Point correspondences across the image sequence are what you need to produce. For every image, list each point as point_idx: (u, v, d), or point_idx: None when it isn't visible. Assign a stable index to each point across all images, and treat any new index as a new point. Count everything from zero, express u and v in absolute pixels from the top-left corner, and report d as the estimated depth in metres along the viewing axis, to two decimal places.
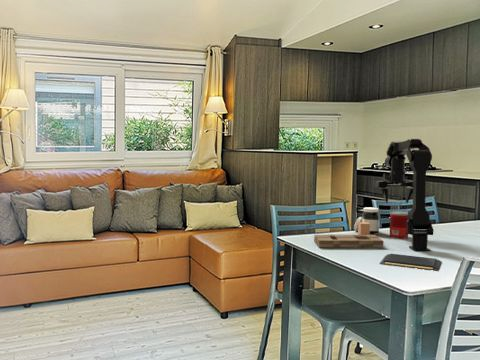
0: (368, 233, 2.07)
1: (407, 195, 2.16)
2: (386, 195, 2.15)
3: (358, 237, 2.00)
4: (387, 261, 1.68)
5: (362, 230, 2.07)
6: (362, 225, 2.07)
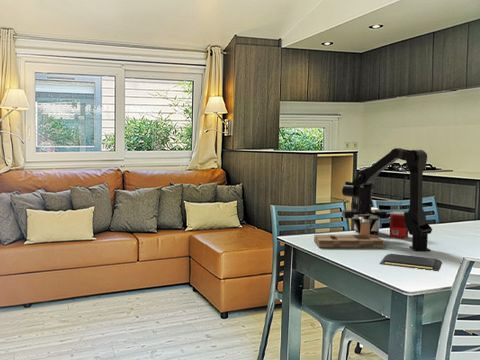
0: (368, 233, 2.07)
1: None
2: (358, 226, 2.07)
3: (358, 237, 2.00)
4: (387, 261, 1.68)
5: (362, 230, 2.07)
6: (362, 225, 2.07)
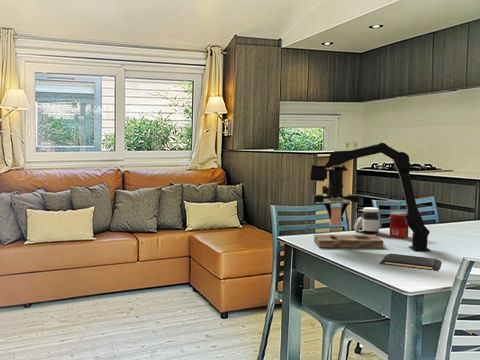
0: (339, 218, 1.95)
1: (341, 210, 1.96)
2: (329, 210, 1.94)
3: (358, 237, 2.00)
4: (387, 261, 1.68)
5: (333, 215, 1.94)
6: (333, 210, 1.94)
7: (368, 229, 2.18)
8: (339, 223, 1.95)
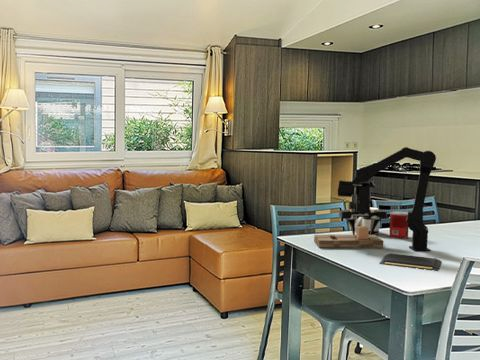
0: (367, 238, 1.95)
1: (371, 226, 1.96)
2: (353, 226, 1.95)
3: None
4: (387, 261, 1.68)
5: (360, 235, 1.95)
6: (360, 229, 1.95)
7: None
8: None
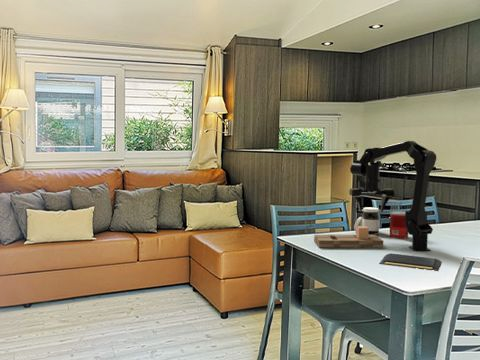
0: (367, 238, 1.95)
1: (382, 203, 2.08)
2: (360, 203, 2.06)
3: None
4: (387, 261, 1.69)
5: (360, 235, 1.95)
6: (360, 229, 1.95)
7: None
8: None
